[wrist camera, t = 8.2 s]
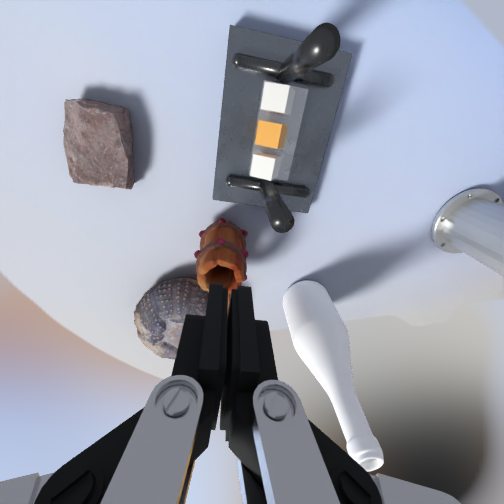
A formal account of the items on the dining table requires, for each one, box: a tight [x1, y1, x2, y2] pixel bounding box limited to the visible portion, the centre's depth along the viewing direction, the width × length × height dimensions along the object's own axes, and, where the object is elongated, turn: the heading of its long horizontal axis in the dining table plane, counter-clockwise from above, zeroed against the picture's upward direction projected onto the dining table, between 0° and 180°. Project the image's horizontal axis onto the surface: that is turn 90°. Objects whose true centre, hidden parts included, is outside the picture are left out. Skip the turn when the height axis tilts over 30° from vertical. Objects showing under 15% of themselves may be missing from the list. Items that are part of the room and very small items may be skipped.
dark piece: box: [213, 23, 352, 233], centre depth 32 cm, size 16×22×18 cm
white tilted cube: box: [261, 82, 295, 115], centre depth 32 cm, size 3×3×4 cm
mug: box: [194, 218, 248, 309], centre depth 42 cm, size 15×8×15 cm, turn 179°
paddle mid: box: [255, 120, 288, 149], centre depth 34 cm, size 3×3×4 cm
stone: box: [63, 99, 134, 189], centre depth 37 cm, size 12×9×5 cm
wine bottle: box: [283, 280, 384, 471], centre depth 42 cm, size 10×10×30 cm
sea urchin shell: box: [134, 278, 208, 359], centre depth 51 cm, size 19×19×10 cm
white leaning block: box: [250, 152, 282, 181], centre depth 36 cm, size 3×3×4 cm
